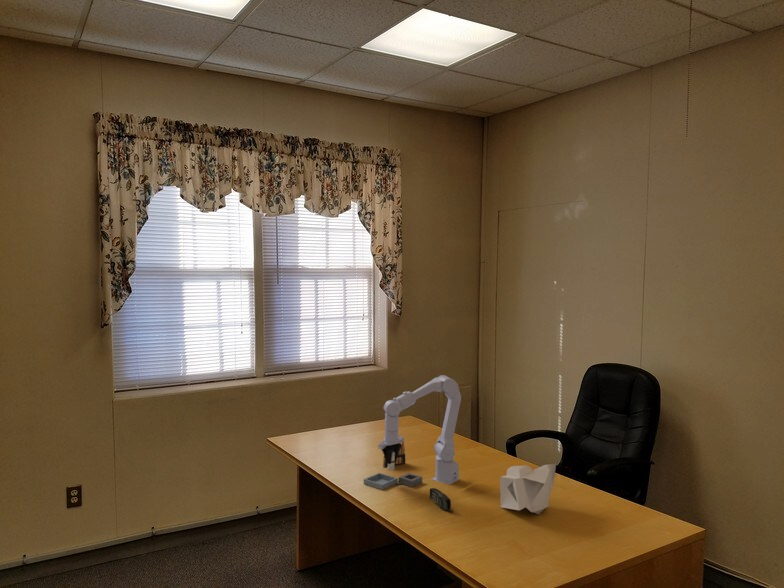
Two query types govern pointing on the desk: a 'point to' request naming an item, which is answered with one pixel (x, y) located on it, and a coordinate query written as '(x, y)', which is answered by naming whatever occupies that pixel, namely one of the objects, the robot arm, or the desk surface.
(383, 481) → the parts tray
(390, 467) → the fuse
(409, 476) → the grey square holder
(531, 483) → the folded paper
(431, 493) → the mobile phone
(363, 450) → the desk surface
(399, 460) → the ammunition clip
